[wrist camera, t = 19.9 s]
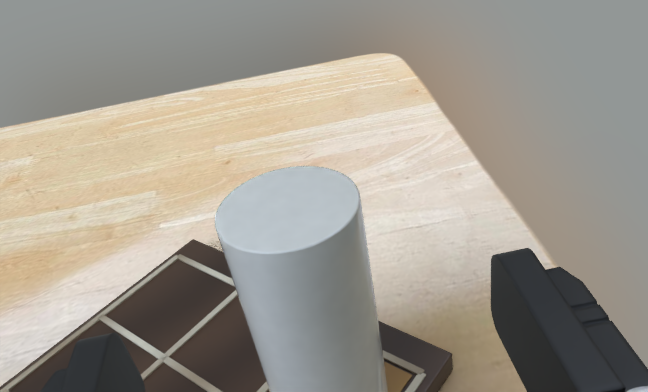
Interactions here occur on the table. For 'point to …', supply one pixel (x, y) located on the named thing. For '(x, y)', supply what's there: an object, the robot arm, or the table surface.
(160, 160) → the table surface
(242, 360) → the board
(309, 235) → the tall white cylinder
